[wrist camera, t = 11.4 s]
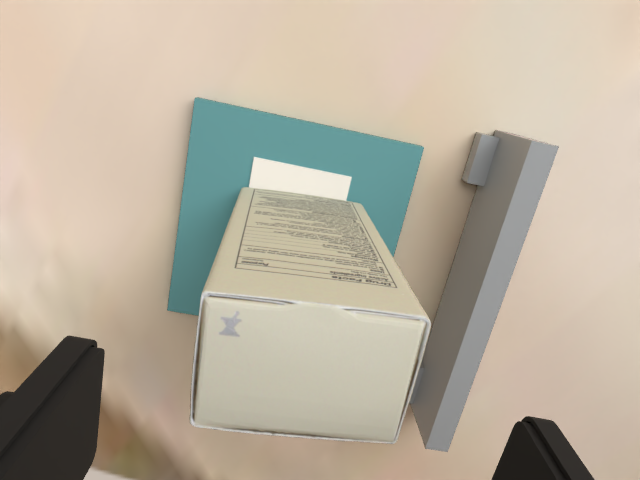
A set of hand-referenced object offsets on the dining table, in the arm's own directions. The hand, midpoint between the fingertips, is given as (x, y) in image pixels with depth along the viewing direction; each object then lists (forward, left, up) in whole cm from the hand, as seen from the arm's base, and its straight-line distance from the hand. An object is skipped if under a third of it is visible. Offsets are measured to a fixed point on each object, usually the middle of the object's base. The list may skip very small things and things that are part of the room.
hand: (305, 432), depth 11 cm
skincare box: (0, 0, -15) cm, 15 cm away
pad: (+1, 0, -15) cm, 15 cm away
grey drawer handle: (-9, +1, -15) cm, 18 cm away
